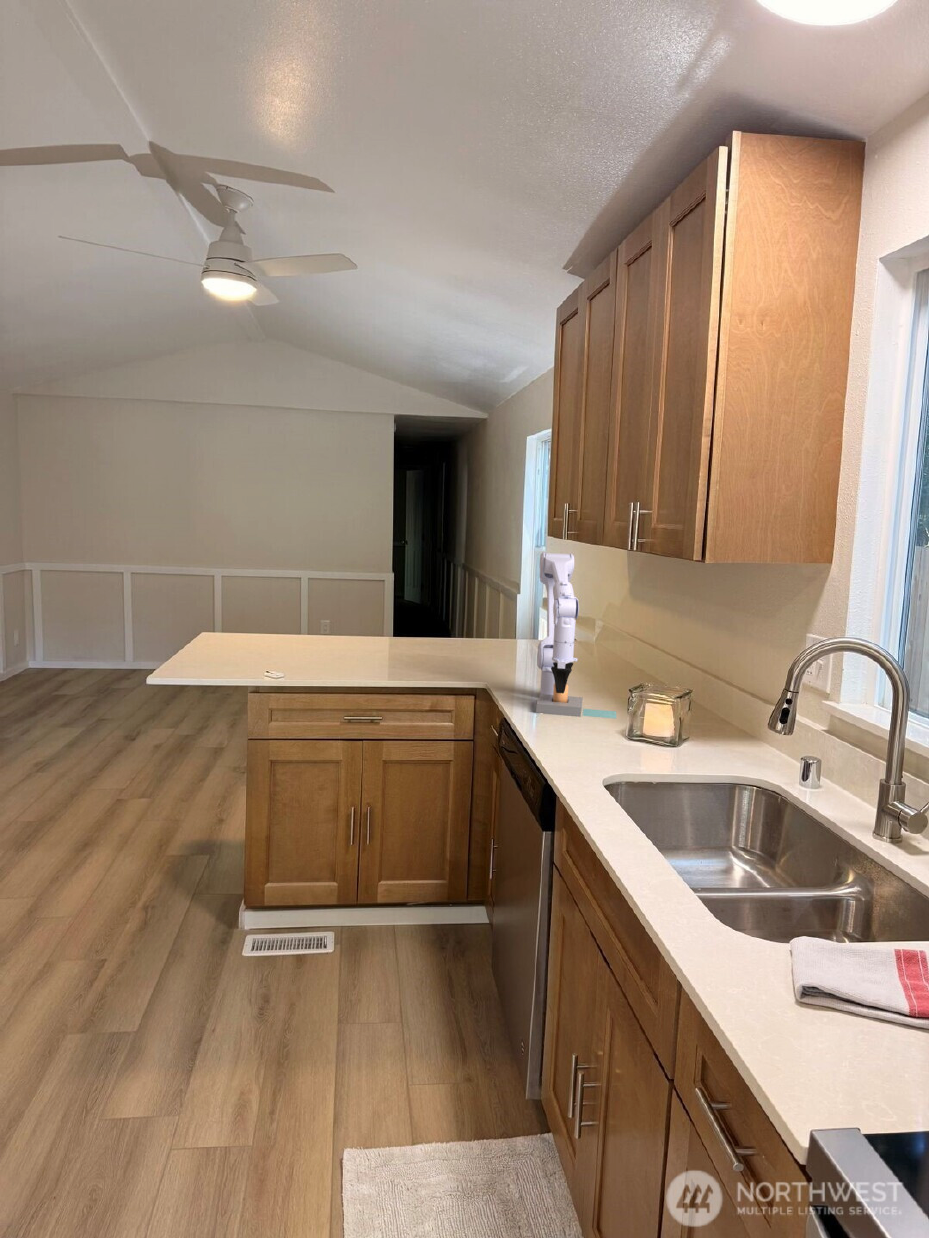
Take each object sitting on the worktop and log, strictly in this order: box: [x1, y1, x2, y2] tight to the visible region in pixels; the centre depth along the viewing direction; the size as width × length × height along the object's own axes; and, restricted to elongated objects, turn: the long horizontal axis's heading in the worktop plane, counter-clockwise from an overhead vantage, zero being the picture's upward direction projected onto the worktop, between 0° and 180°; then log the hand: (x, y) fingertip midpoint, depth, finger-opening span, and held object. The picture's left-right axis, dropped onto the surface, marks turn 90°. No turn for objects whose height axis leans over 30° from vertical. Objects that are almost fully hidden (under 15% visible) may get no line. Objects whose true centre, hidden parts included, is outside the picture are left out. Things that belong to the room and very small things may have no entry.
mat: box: [582, 708, 617, 719], centre depth 233 cm, size 9×9×1 cm
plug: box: [553, 683, 569, 703], centre depth 235 cm, size 4×4×7 cm
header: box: [535, 693, 583, 718], centre depth 236 cm, size 14×12×3 cm
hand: (560, 690), depth 235 cm, fingers open, 7 cm apart
